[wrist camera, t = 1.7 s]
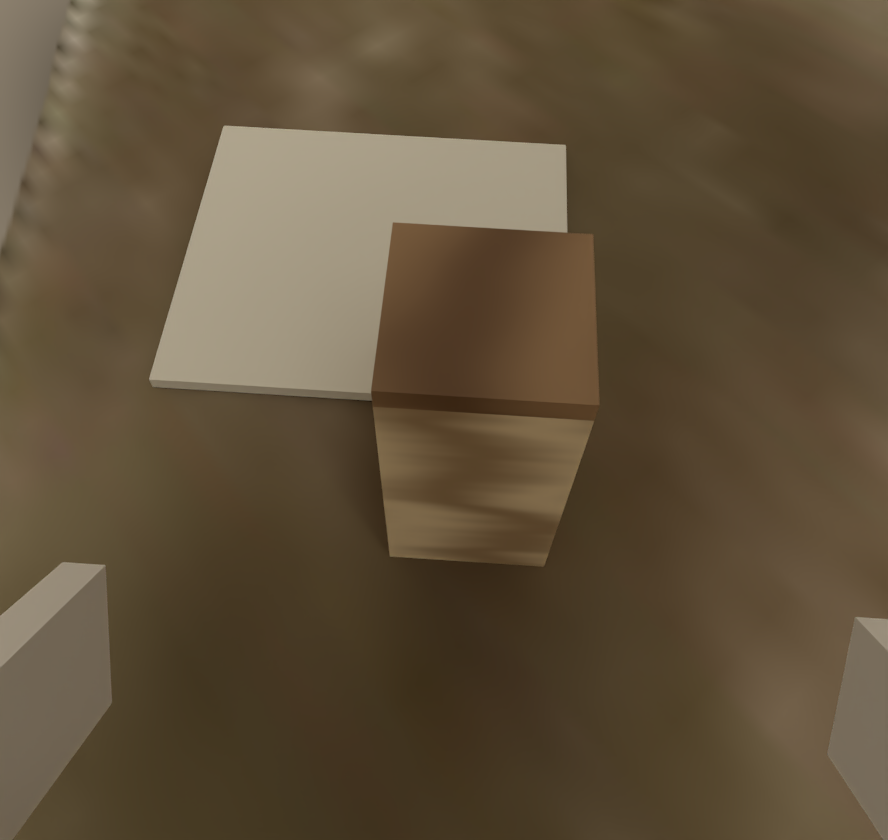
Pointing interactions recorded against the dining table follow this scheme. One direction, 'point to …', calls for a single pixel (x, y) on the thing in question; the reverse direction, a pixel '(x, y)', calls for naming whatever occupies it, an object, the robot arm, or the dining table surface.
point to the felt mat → (327, 249)
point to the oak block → (483, 388)
